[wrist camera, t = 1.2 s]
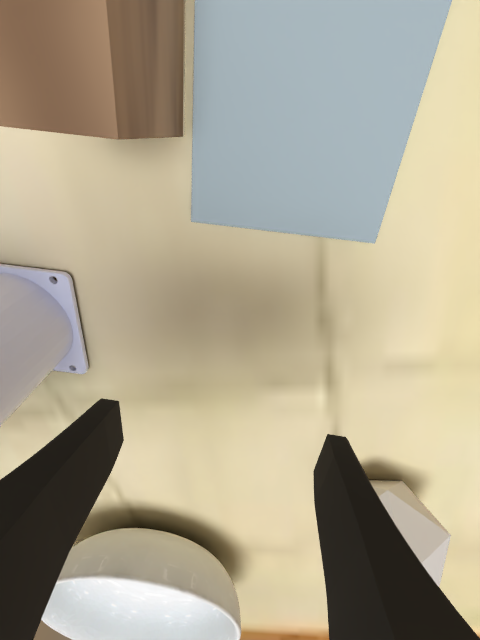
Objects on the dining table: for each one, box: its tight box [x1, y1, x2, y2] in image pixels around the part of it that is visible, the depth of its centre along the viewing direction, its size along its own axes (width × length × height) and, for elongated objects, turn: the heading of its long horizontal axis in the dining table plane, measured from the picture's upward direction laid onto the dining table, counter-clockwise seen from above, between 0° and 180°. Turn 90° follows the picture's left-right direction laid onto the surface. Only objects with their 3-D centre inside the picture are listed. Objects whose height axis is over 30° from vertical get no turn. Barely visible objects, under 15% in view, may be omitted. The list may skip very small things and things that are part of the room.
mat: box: [191, 0, 452, 243], centre depth 14 cm, size 10×14×1 cm
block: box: [0, 0, 185, 139], centre depth 11 cm, size 4×6×8 cm, turn 175°
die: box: [369, 480, 451, 587], centre depth 25 cm, size 8×9×10 cm
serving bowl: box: [41, 528, 241, 640], centre depth 35 cm, size 21×21×7 cm
